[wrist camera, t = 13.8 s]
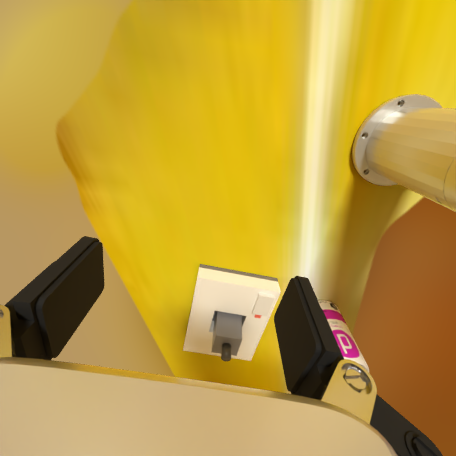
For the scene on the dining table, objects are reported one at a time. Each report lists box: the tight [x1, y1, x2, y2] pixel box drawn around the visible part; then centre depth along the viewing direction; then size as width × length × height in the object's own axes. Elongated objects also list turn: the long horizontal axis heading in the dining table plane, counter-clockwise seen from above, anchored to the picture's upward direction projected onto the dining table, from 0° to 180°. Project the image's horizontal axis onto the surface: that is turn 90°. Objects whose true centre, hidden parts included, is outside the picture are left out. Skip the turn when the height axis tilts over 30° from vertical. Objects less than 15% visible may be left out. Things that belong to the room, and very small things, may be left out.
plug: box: [211, 311, 242, 361], centre depth 47 cm, size 5×5×10 cm
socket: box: [183, 264, 281, 361], centre depth 50 cm, size 16×22×5 cm
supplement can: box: [318, 300, 369, 372], centre depth 45 cm, size 8×8×15 cm
